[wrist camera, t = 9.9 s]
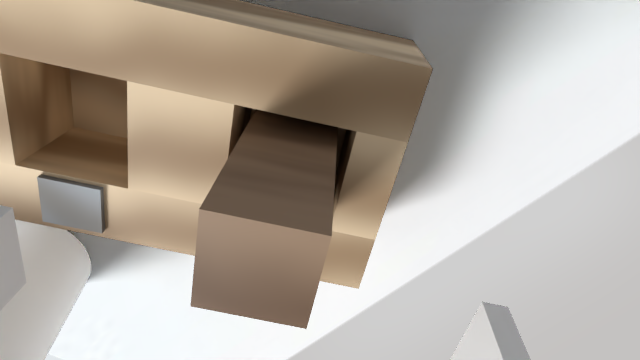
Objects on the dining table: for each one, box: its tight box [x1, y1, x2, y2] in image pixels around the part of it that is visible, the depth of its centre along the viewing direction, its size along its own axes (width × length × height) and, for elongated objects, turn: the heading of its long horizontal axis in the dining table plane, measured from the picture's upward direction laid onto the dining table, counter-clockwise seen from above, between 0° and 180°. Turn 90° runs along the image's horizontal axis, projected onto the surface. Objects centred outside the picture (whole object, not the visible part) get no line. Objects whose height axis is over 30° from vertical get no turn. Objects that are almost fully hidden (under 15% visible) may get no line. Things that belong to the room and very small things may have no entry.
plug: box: [191, 109, 338, 329], centre depth 19 cm, size 4×4×12 cm
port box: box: [0, 0, 433, 289], centre depth 22 cm, size 12×20×6 cm, turn 78°
